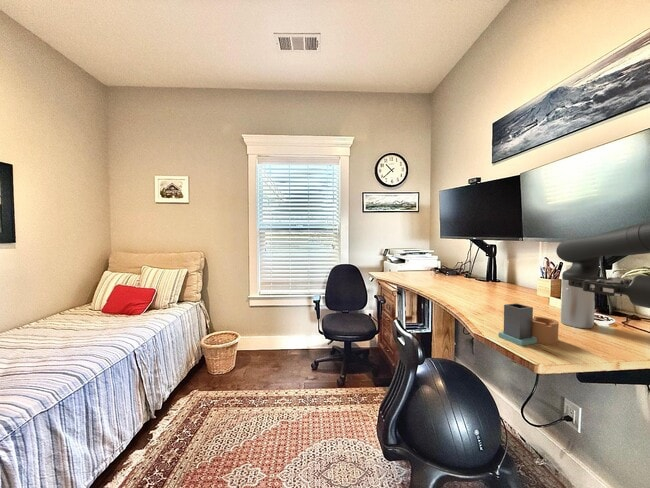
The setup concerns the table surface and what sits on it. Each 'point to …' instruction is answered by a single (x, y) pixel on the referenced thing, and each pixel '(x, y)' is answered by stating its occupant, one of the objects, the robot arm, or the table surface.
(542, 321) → the bracket
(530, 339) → the shaft mount
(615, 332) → the table surface
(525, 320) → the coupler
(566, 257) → the robot arm
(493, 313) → the table surface
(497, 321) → the table surface
